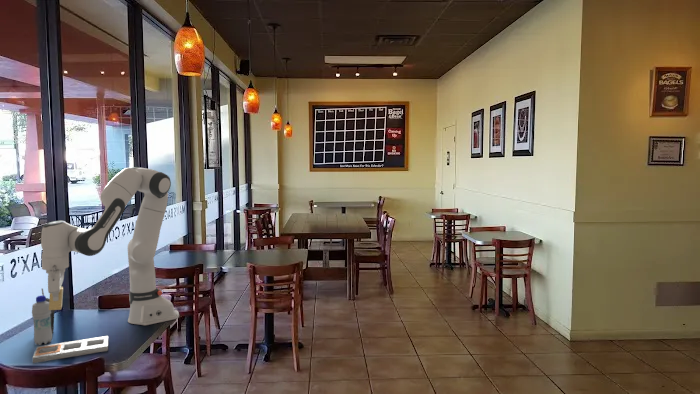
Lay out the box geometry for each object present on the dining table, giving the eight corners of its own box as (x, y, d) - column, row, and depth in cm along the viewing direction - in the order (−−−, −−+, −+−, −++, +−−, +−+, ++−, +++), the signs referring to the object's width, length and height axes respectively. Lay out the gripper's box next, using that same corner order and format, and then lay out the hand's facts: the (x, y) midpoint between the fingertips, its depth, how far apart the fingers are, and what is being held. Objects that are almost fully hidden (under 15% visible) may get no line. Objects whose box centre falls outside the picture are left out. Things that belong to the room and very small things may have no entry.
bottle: (39, 340, 199) (36, 293, 197) (56, 339, 199) (53, 293, 198) (30, 346, 192) (27, 298, 190) (47, 346, 193) (44, 297, 191)
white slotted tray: (108, 340, 198) (108, 335, 198) (107, 350, 188) (107, 345, 187) (37, 351, 187) (37, 346, 187) (32, 363, 177) (32, 357, 176)
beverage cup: (47, 337, 202) (44, 291, 200) (33, 336, 204) (30, 290, 202) (61, 331, 209) (58, 286, 208) (47, 329, 211) (44, 285, 209)
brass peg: (62, 306, 186) (63, 286, 185) (61, 309, 182) (62, 289, 182) (50, 307, 184) (51, 286, 184) (48, 310, 180) (50, 289, 180)
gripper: (63, 268, 174) (64, 305, 175) (66, 257, 192) (67, 291, 193) (42, 269, 171) (43, 307, 172) (48, 259, 189) (49, 293, 190)
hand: (56, 298), depth 183 cm, fingers closed on brass peg, 4 cm apart
